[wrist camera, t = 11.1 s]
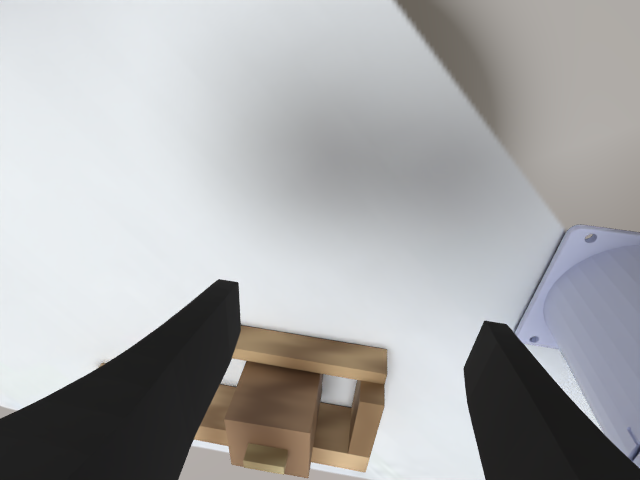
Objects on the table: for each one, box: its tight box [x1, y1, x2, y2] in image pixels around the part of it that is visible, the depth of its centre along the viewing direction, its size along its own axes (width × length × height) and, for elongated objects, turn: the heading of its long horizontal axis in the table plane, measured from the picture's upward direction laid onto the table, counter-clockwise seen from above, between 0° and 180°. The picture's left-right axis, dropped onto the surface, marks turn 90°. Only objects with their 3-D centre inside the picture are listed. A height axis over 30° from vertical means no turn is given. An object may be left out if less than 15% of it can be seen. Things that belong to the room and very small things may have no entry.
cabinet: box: [224, 361, 323, 478], centre depth 24 cm, size 5×5×7 cm
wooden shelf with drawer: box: [100, 325, 387, 472], centre depth 26 cm, size 22×9×4 cm, turn 86°
